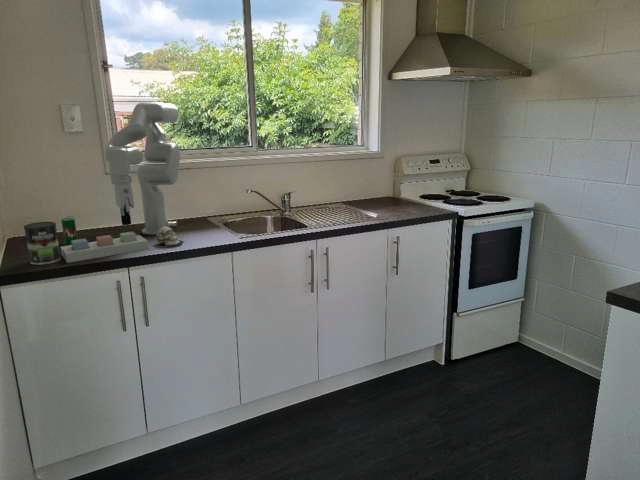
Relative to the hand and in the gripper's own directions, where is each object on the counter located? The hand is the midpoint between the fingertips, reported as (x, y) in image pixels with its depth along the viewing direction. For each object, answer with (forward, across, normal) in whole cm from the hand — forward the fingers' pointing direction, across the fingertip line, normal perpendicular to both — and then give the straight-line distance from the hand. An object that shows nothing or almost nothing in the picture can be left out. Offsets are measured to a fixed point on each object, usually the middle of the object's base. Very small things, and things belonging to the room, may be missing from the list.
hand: (126, 224), depth 188 cm
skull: (+11, -4, -15) cm, 19 cm away
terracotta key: (+8, 0, +9) cm, 12 cm away
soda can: (+10, +21, +18) cm, 30 cm away
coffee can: (+10, +2, +30) cm, 32 cm away
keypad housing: (+10, 0, +9) cm, 14 cm away
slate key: (+8, 0, +18) cm, 20 cm away
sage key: (+8, 0, 0) cm, 8 cm away
